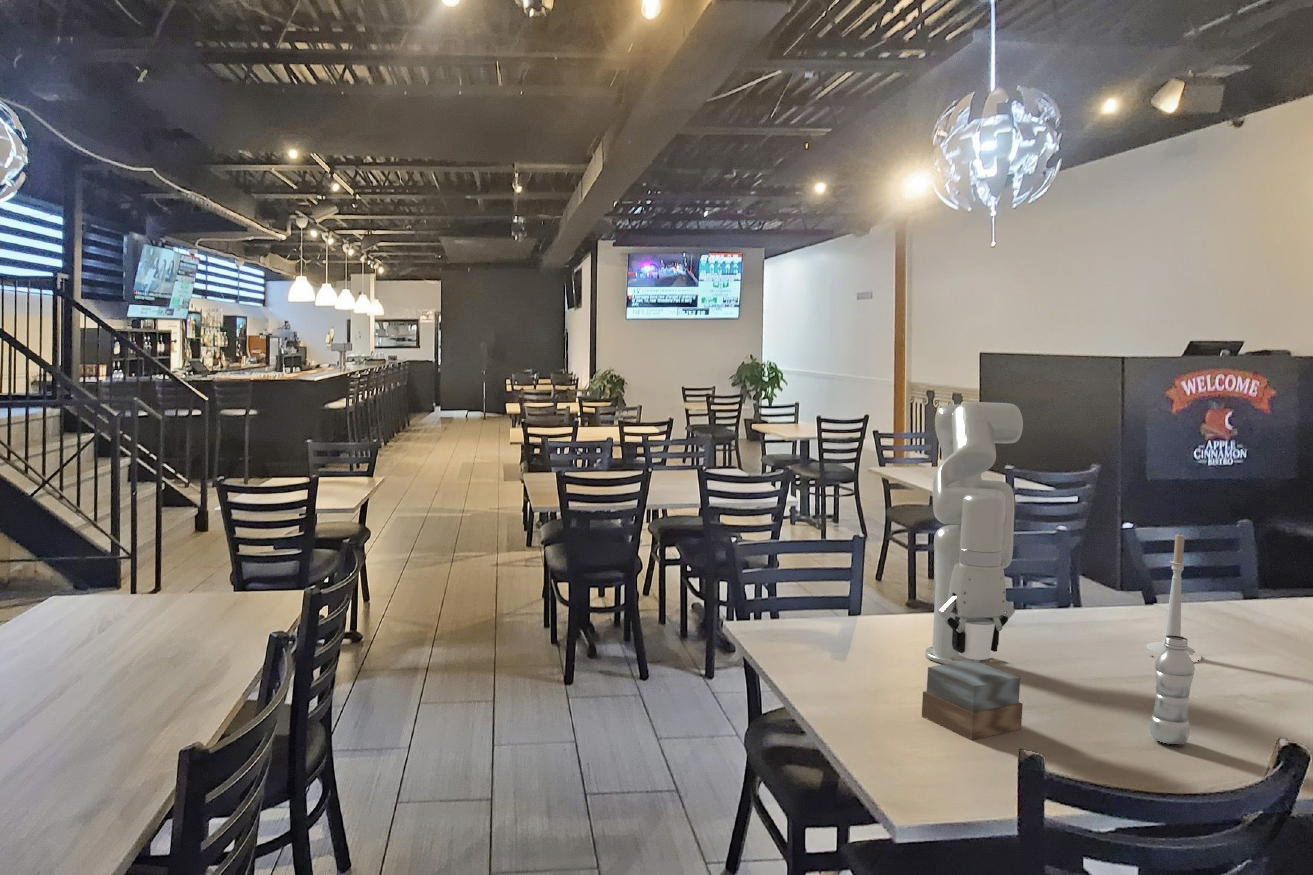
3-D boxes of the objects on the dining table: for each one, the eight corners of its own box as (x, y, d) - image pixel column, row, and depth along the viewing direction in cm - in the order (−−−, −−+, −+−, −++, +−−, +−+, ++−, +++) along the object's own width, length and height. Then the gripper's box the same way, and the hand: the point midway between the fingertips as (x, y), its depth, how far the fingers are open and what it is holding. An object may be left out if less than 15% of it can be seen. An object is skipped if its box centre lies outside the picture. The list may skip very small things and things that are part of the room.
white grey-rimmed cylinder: (995, 662, 184) (997, 625, 183) (957, 658, 185) (959, 622, 185) (990, 651, 190) (992, 616, 190) (954, 648, 192) (956, 613, 191)
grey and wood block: (970, 706, 198) (972, 658, 197) (1021, 729, 186) (1024, 678, 186) (921, 716, 192) (924, 666, 191) (971, 740, 180) (974, 687, 179)
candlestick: (1144, 658, 234) (1153, 535, 232) (1139, 644, 246) (1148, 526, 244) (1204, 665, 230) (1214, 540, 227) (1197, 651, 241) (1206, 531, 239)
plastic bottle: (1141, 735, 185) (1148, 632, 183) (1175, 735, 185) (1183, 632, 184) (1161, 749, 178) (1169, 642, 177) (1196, 749, 179) (1204, 642, 177)
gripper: (1009, 553, 192) (1003, 642, 193) (928, 555, 188) (924, 646, 189) (1031, 561, 185) (1026, 654, 186) (949, 563, 181) (944, 658, 182)
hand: (974, 649), depth 188 cm, fingers closed on white grey-rimmed cylinder, 6 cm apart
